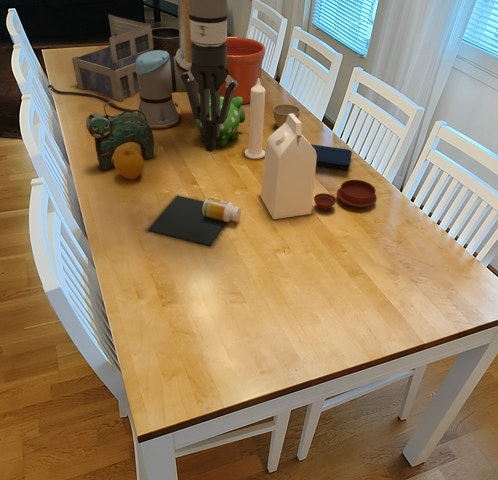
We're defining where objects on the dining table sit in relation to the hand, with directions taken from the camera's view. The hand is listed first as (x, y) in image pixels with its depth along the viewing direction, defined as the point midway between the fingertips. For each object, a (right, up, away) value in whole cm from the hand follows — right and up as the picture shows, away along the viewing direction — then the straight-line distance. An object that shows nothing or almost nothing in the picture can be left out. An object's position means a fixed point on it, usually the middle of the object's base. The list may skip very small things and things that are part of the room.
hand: (211, 148), depth 110 cm
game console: (+35, +8, +43) cm, 56 cm away
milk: (+20, -9, +24) cm, 32 cm away
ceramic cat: (-31, +7, +39) cm, 50 cm away
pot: (+2, +48, +83) cm, 96 cm away
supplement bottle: (-3, -11, +16) cm, 20 cm away
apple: (-28, +1, +32) cm, 42 cm away
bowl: (+23, +26, +62) cm, 71 cm away
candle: (+11, +12, +46) cm, 49 cm away
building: (-47, +53, +85) cm, 111 cm away
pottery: (+37, -9, +26) cm, 46 cm away
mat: (-6, -15, +17) cm, 23 cm away
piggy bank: (-1, +20, +53) cm, 57 cm away
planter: (-28, +67, +101) cm, 124 cm away
